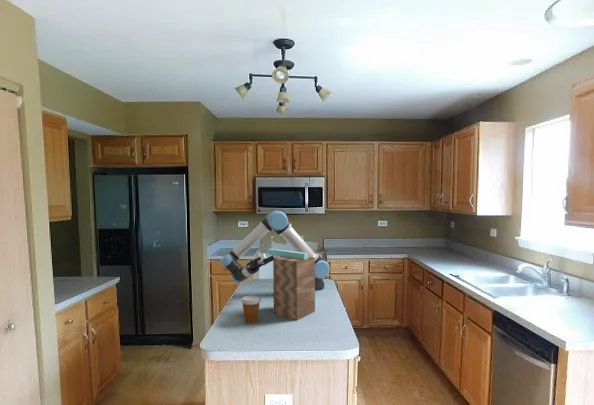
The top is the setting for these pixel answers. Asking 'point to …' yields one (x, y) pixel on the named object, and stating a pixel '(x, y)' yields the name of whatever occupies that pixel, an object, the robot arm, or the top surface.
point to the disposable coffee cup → (251, 308)
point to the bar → (288, 254)
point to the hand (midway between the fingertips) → (273, 253)
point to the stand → (294, 286)
